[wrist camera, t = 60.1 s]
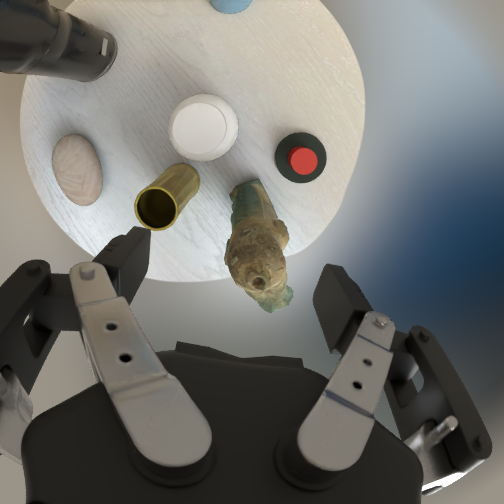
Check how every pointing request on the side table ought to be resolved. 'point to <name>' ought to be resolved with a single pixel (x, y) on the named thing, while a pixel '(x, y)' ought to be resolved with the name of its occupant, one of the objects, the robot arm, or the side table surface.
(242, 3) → the bottle
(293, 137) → the coaster
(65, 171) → the decorative stone
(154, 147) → the side table surface
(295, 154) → the cap
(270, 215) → the statue
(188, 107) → the pill bottle
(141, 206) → the vase
